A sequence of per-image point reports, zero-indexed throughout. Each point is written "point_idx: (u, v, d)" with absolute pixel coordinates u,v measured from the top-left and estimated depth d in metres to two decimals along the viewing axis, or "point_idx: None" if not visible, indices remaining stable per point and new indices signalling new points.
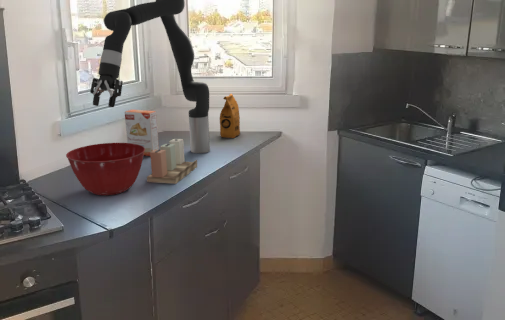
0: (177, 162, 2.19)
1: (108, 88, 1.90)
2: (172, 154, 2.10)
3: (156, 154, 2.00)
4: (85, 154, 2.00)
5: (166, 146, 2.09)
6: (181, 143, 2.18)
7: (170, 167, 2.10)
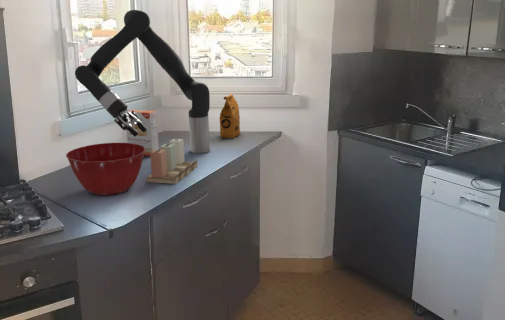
0: (177, 162, 2.19)
1: None
2: (172, 154, 2.10)
3: (156, 154, 2.00)
4: (85, 154, 2.00)
5: (166, 146, 2.09)
6: (181, 143, 2.18)
7: (170, 167, 2.10)
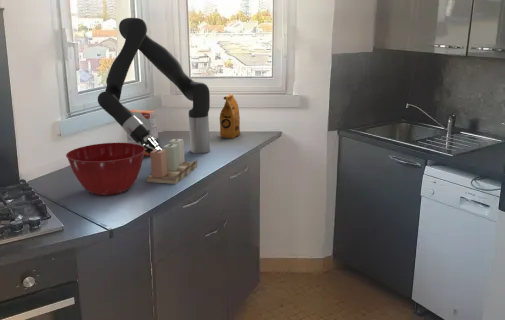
0: None
1: None
2: (175, 154, 2.10)
3: (156, 154, 2.00)
4: (85, 154, 2.00)
5: (169, 146, 2.08)
6: (181, 143, 2.18)
7: (173, 167, 2.10)
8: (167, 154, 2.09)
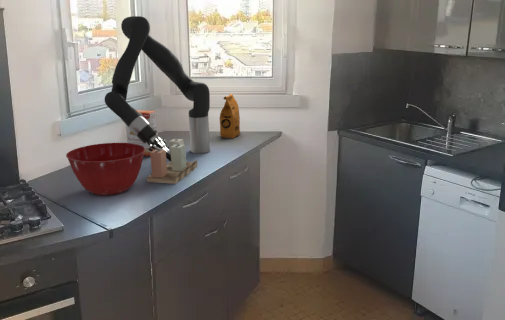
0: None
1: None
2: (182, 155, 2.09)
3: (156, 154, 2.00)
4: (85, 154, 2.00)
5: (176, 147, 2.07)
6: (181, 143, 2.18)
7: (181, 168, 2.09)
8: (174, 154, 2.08)
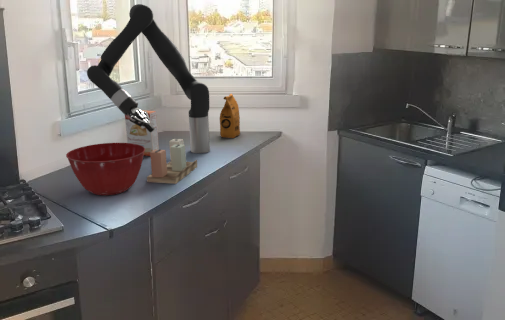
0: None
1: None
2: (182, 155, 2.09)
3: (156, 154, 2.00)
4: (85, 154, 2.00)
5: (176, 147, 2.07)
6: (181, 143, 2.18)
7: (181, 168, 2.09)
8: (174, 154, 2.08)
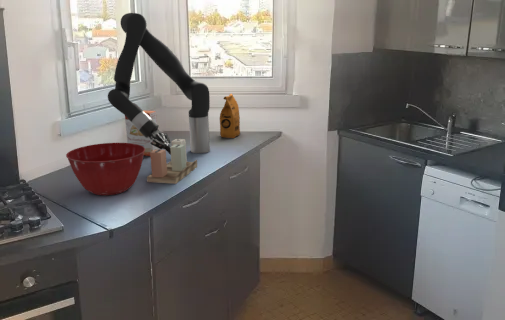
0: None
1: None
2: (182, 155, 2.09)
3: (156, 154, 2.00)
4: (85, 154, 2.00)
5: (176, 147, 2.07)
6: (183, 143, 2.18)
7: (181, 168, 2.09)
8: (174, 154, 2.08)
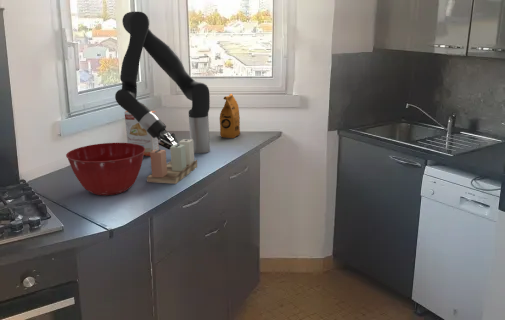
0: (187, 162, 2.17)
1: None
2: (182, 155, 2.09)
3: (156, 154, 2.00)
4: (85, 154, 2.00)
5: (176, 147, 2.07)
6: (191, 143, 2.17)
7: (181, 168, 2.09)
8: (174, 154, 2.08)
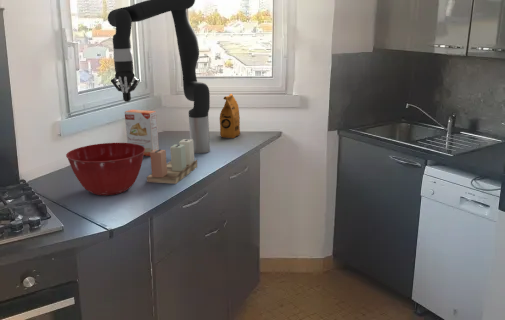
0: (187, 162, 2.17)
1: (126, 85, 2.13)
2: (182, 155, 2.09)
3: (156, 154, 2.00)
4: (85, 154, 2.00)
5: (176, 147, 2.07)
6: (191, 143, 2.17)
7: (181, 168, 2.09)
8: (174, 154, 2.08)
